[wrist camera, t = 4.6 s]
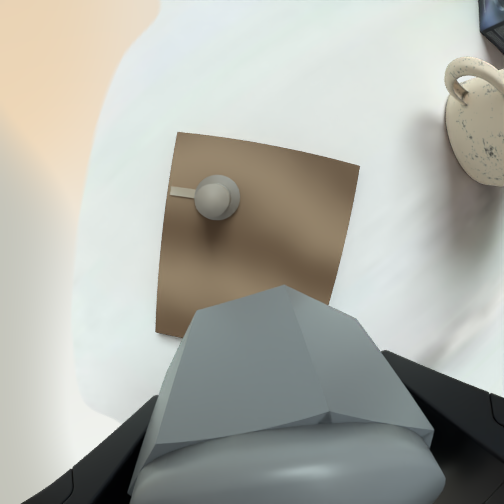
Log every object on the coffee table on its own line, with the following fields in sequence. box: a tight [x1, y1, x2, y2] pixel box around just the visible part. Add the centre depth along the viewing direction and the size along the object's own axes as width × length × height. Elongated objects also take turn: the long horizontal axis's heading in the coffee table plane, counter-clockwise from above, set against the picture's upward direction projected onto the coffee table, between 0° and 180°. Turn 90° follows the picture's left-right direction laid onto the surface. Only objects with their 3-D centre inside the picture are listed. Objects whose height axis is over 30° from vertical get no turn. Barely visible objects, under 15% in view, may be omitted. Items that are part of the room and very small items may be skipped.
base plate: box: [155, 132, 360, 338], centre depth 16 cm, size 13×11×4 cm
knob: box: [127, 285, 446, 504], centre depth 5 cm, size 5×5×5 cm
